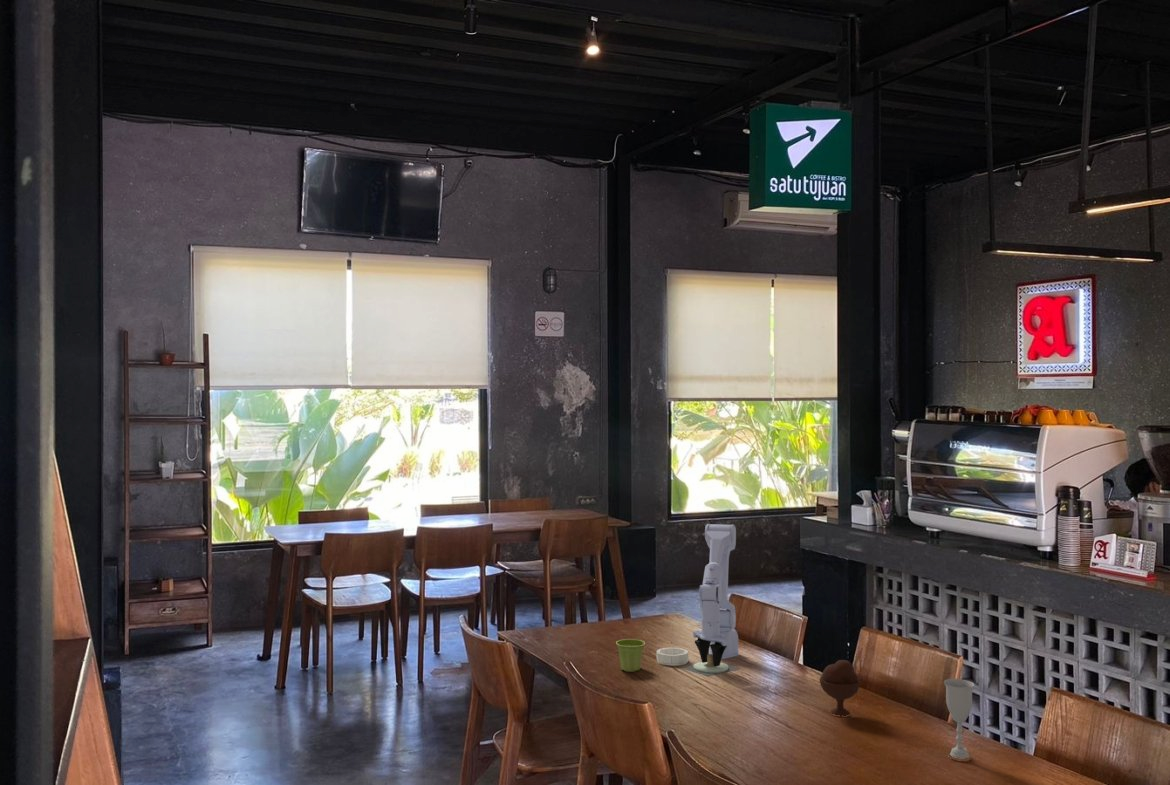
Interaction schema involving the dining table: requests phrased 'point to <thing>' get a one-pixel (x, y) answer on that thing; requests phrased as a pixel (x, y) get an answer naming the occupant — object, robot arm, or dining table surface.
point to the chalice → (959, 709)
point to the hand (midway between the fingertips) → (710, 663)
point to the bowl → (672, 656)
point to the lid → (710, 666)
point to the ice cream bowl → (840, 684)
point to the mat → (691, 668)
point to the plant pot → (630, 654)
